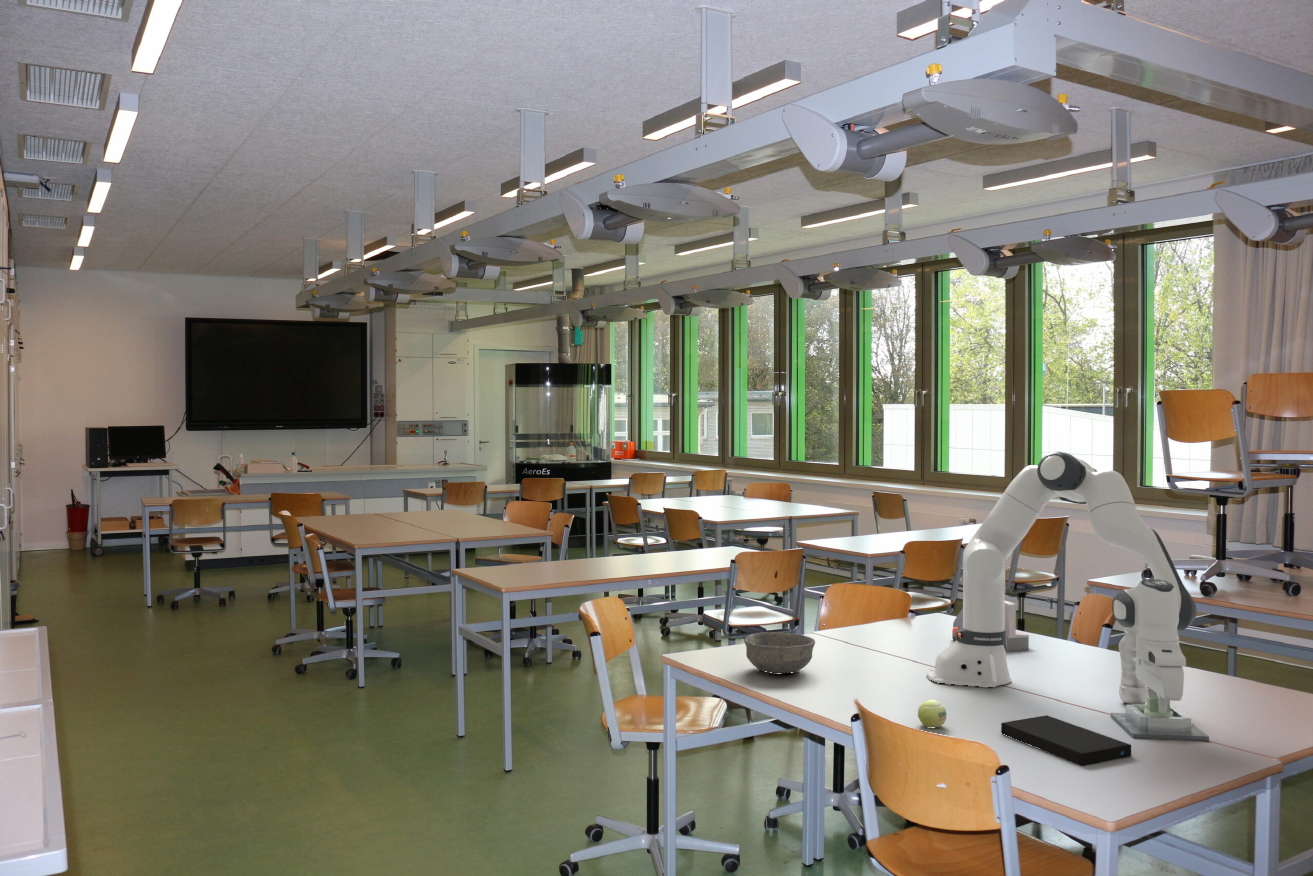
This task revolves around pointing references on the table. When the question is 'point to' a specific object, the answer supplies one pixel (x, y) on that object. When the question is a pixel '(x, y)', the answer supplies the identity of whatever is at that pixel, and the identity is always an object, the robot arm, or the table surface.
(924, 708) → the tennis ball
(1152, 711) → the stepped sage green block
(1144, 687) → the plastic bottle
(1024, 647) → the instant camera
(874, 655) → the table surface
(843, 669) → the table surface
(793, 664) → the bowl
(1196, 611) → the robot arm
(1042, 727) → the external hard drive
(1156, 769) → the table surface
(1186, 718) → the cap socket
